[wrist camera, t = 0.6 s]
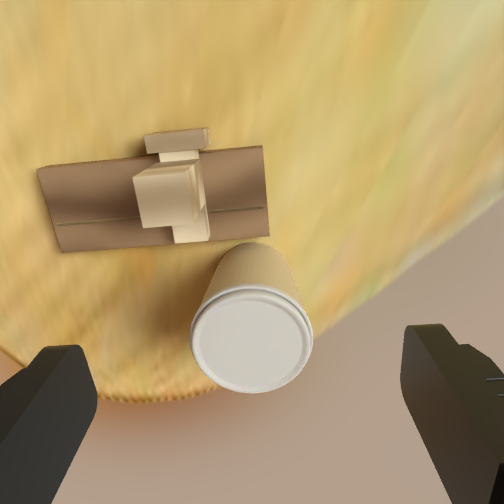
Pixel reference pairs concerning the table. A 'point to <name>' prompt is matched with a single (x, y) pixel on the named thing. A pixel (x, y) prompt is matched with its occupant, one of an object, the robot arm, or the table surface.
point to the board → (126, 206)
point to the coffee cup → (251, 322)
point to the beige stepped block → (175, 185)
